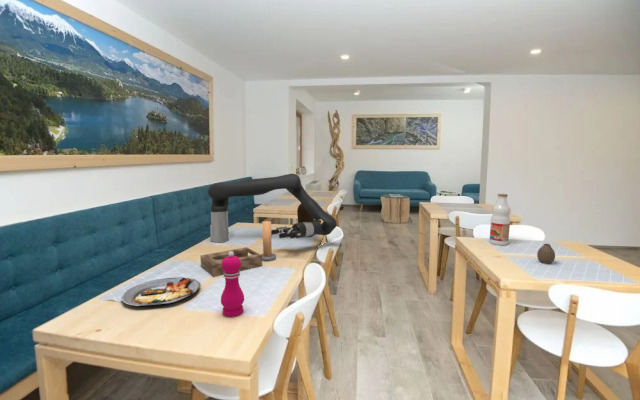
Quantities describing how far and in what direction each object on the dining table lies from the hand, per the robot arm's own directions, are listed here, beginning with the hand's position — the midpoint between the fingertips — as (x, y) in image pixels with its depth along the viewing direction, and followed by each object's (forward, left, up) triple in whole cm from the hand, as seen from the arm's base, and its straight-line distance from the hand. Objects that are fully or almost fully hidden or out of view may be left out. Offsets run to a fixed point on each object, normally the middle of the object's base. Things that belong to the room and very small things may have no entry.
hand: (275, 234), depth 162 cm
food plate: (-32, -45, -12) cm, 57 cm away
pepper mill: (-3, -57, -12) cm, 59 cm away
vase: (+127, 0, -12) cm, 127 cm away
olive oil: (+11, +45, -12) cm, 47 cm away
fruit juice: (+121, +33, -12) cm, 126 cm away
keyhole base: (-17, -14, -11) cm, 25 cm away
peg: (-3, -3, -11) cm, 12 cm away
